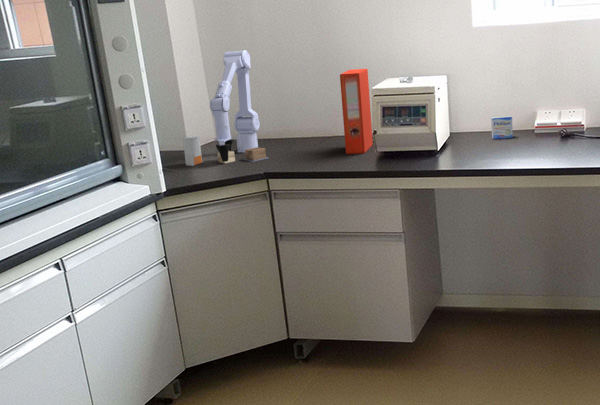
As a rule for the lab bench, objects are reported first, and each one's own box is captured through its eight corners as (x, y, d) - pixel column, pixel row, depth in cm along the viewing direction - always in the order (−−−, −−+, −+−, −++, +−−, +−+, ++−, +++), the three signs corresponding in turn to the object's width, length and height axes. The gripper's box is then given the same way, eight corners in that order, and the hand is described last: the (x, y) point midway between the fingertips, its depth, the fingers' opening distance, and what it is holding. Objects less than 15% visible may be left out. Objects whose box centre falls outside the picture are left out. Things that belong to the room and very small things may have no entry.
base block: (246, 159, 322) (244, 149, 321) (258, 156, 325) (256, 147, 324) (254, 160, 317) (252, 151, 316) (266, 157, 320) (265, 148, 319)
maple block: (218, 162, 322) (217, 152, 321) (228, 160, 325) (227, 150, 324) (225, 163, 318) (223, 153, 317) (235, 161, 321) (234, 151, 320)
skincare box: (194, 167, 321) (190, 138, 318) (186, 166, 323) (182, 138, 320) (203, 163, 326) (199, 135, 323) (195, 163, 328) (191, 135, 325)
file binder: (373, 144, 328) (367, 68, 320) (365, 153, 312) (359, 72, 304) (354, 145, 330) (348, 69, 322) (346, 154, 314) (338, 74, 306)
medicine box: (492, 139, 313) (491, 118, 310) (491, 137, 317) (490, 116, 315) (513, 138, 311) (512, 116, 309) (511, 136, 315) (511, 115, 313)
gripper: (215, 125, 325) (219, 157, 329) (209, 130, 311) (214, 163, 315) (232, 123, 325) (236, 155, 328) (227, 128, 311) (231, 162, 314)
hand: (226, 159), depth 321 cm, fingers closed on maple block, 7 cm apart
